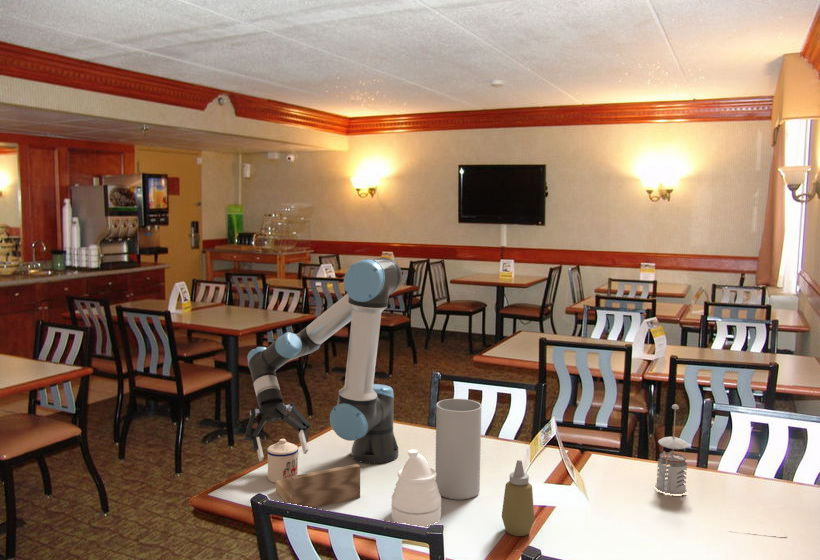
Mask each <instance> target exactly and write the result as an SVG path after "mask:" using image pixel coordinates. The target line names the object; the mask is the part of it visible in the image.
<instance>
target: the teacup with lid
mask: <svg viewBox="0 0 820 560" xmlns="http://www.w3.org/2000/svg"><path fill="white" fill-rule="evenodd" d="M266 453H267V479H268V481H270V482H271V483H274V484H276V481H278V480H283V479H288V478H291V476H295V475H299V474H298V473H299V471H298V469H299V467H298V464H299V463H298V460H299V459H298V458H299V448H298V446H297V445H296V444H295V443H292V442H289V441H287V440H286V439H285V438H280V439H279V441H278V442H276V443H274V444H271V445H269V446H268V447H267V449H266Z"/></svg>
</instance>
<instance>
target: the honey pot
mask: <svg viewBox="0 0 820 560" xmlns="http://www.w3.org/2000/svg"><path fill="white" fill-rule="evenodd" d="M407 454H408V457H409V458H408V459H407V461H406V462H405V464H404V465H403V467H402V468H400V469H399V470H398V471H397V477H398V480H397V481H396V483H395V487H394V489H393V493H392V495H391V515H390V516H391V520H392V521H393V520H394V521H393V522H394V523H396V522H398V523H406V524H410V525H417V526H427V525H428V526H429V525H430V524H434V523H435V522H438V521H439V520H440V521H441V519H442V496H441V495H440V493H439V490H438V485H437V483H436V482H435V478H436V475H437V474H436V472H435V469H433V468H431V466H430V464H429V463H428V461H427V460H426V458H425V456H424V455H422V454H420V453H419V451H418V450H417V449H409V450H407ZM440 518H441V519H440ZM440 521H439V522H440ZM439 522H438V523H439ZM429 527H430V526H429Z"/></svg>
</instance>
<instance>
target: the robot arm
mask: <svg viewBox="0 0 820 560" xmlns="http://www.w3.org/2000/svg"><path fill="white" fill-rule="evenodd" d="M343 277H344V278H343V288H344V290H345V292H346V294H345V295H343V296H342V298H339V300H337V301H336V302H335V303H334V304H333V305H332V306H330V307H329V308H327V309H326V310H325V311H324V312H322V314H320V315H318V317H316V318H315V319H314V320H313V321H311V323H309V324H308V325H307V326H306V327H304V328H303V329H301V331H299V332H298V333H293V332H290V331H287V332H285V333H284V334H282V335H280V336H278V338H277V339H276V340H274V341H273V342H272V343H271V344H269V346H267V347H265V346H257V347H256V348H253V349H251V350H250V351H249V352H248V354H247V355H246V356H247V366H248V369H249V372H250V376H251V379H252V385H253V388H254V392H255V396H256V400H257V401H256V402H257V406H258V408H255V407H251V408H250V411H249V421H248V424H247V426H246V431H245V433H244V436H243V439H244V440H245V441H249V442H250V443H251V446H252V450H253V451H256V452H257V457H258V460H259V462H263V460H264V458H265V457H264V452H263V447H262V443H261V439H260V436H258V435H259V434H260V432H261V431H262V429H263V427H264V425H265V423H266V422H269V423H272V422H275V421H276V422H277V421H278V422H279V421H280V420H281V421H282V422H285V423H286V424H288V425H290V426H291V428H294V429H295V431H297V432H299V433H298V439H299V441H300V445H301V447H302V452H303V454H304V455H305V454H308V452H309V446H308V443H307V442H308V441H309V435H308V433H307V432H308V431H309V430H310V428H311V427H312V424H311V423H310V422H309V421H308V419H306V418H305V416H304V415H303V414H302V413H301V412H300V411H299V409H298V408H297V406H296V404H295V402H293V401H291V402H290V403H289V404H285V403H284V400H283V396H282V392H281V389H280V384H279V382H278V376H277V373H276V371H277V370H279V369H280V368H281V367H283V366H284V365H285V364H287V363H288V362H290V361H292V360H295V359H297V358H300V357H303V356H306V355H311V354H313V353H314V352H316V351H317V350H319V349H320V347H321V345H322V344H323V343H324V342H326V341H327V340H328V339H329V338H331V337H332V336H333V335H334V334H336V333H337V332H338V331H340V330H341V329H342V328H344V327H345V326H346V325H348V324H349V323H350V330H349V340H348V341H349V342H348V350H347V360H346V367H345V368H346V369H345V376H344V377H345V379H344V385H343V387H342V388H341V389H339V390H338V396H337V403H336V405H335V406H334V407H333V408H332V410H331V411H330V413H329V424H330V426H331V428H332V431H334V432H335V434H336V436H338V437H339V438H341V439H343V440H345V441H349V442H350V441H353V443H352V447H351V458H352V459H353V460H355V461H357V462H358V463H359V462H360V463H365V464H385V463H389V462H392V461H394V460H396V459H398V458H399V447H398V444H397V439H396V436H395V433H394V407H395V406H394V405H395V403H394V399H395V396H394V389H393V388H392V387H391V386H389V385H386V384H380V383H379V384H378V383H374V382H375V373H376V365H377V356H378V355H377V354H378V347H379V338H380V329H381V321H382V312H383V311H384V310H386V309H387V308H388V306H389V305H388V304H389V296H390V295H393V293H395V292H396V291H398V289H400V287H401V284H402V280H403V272H402V269H401V267H400V265H399V264H398V263H397V262H396V261H395V260H393V259H392V258H389V257H376V258H364V259H361V260H358V261H356V262H354V263H353V264H352V265H350V266H349V268H348V269H347V270H346V272H345V274H344V276H343ZM287 411H288V412H287ZM289 413H291V415H292V416H291V415H290V414H289ZM257 415H260V416H261V417H262V418H261V420H260V421H259V423H258V424H257V426H256V428H255V430H254V431H253V433H251V432H252V428H253V425H254V422H255V419H256V417H257Z"/></svg>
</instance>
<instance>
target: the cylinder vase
mask: <svg viewBox="0 0 820 560" xmlns="http://www.w3.org/2000/svg"><path fill="white" fill-rule="evenodd" d="M435 405H436V409H435V412H436V416H435V417H436V419H435V469H434V471H435V472H436V474H437V475H436V478H435V482H436V483H437V485H438V490H439V493H440V495H441V497H443V498H446V499H450V500H456V501H457V500H458V501H459V500H460V501H462V500H468V499H469V500H470V499H472V498H475V497H476V496H478V495H479V493H480V490H481V489H480V487H481V450H482V449H481V446H482V441H481V440H482V404H481V403H480V402H478V401H476V400H472V399H466V398H449V399H448V398H447V399H442V400H439V401H437V403H436V404H435Z"/></svg>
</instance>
